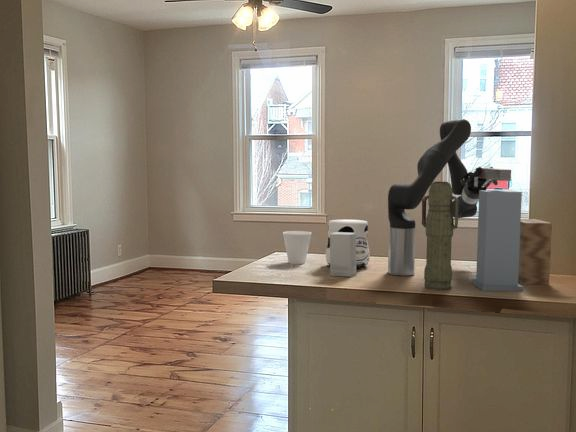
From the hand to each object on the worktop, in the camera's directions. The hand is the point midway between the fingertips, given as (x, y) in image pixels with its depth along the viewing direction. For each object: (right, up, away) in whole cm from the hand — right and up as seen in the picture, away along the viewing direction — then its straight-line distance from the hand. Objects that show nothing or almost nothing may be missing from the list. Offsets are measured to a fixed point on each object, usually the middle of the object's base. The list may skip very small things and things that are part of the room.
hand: (486, 169), depth 215 cm
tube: (0, -4, -7) cm, 8 cm away
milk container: (-47, -37, +25) cm, 64 cm away
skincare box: (-50, -38, +7) cm, 64 cm away
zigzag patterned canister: (+15, -39, -1) cm, 42 cm away
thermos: (-21, -40, -13) cm, 47 cm away
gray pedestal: (-1, -40, -12) cm, 42 cm away
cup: (-67, -36, +33) cm, 83 cm away
